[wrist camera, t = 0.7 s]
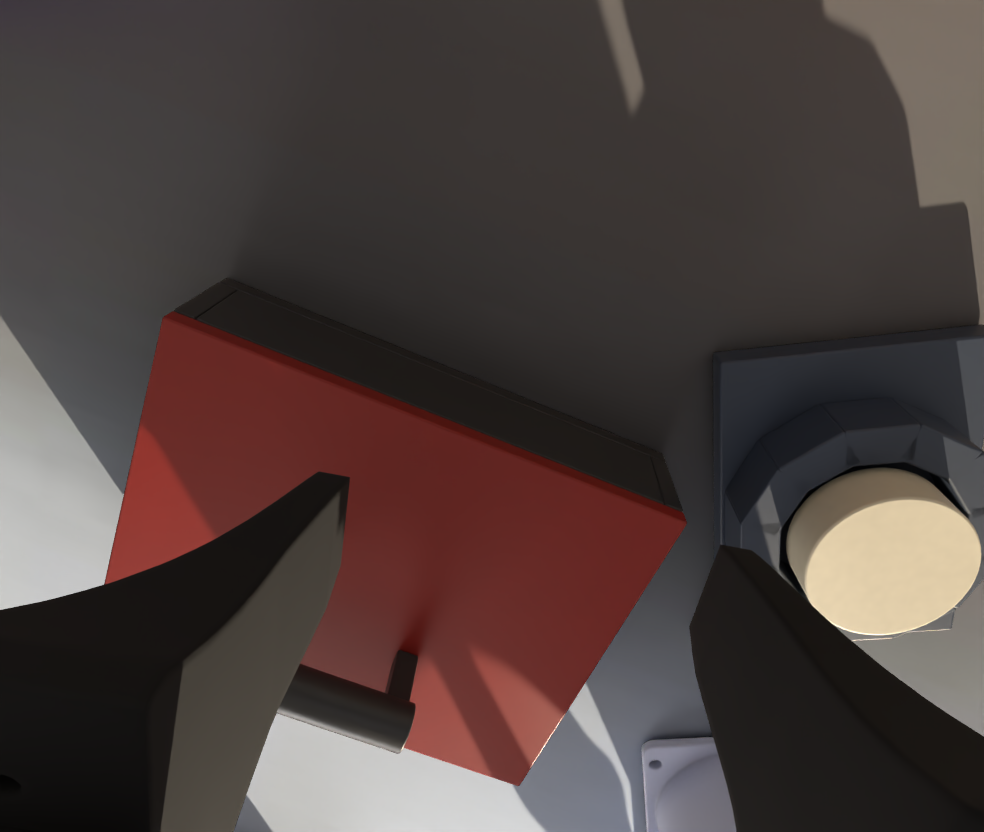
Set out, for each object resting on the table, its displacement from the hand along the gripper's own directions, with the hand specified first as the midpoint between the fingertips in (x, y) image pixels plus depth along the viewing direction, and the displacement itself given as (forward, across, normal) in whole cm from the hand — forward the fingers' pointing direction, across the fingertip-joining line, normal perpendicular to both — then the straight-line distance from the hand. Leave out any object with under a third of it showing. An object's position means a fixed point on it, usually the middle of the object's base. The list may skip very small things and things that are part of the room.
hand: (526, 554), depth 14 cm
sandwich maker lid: (+7, +4, +6) cm, 10 cm away
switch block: (+10, -11, +2) cm, 15 cm away
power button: (+8, -11, +2) cm, 14 cm away
